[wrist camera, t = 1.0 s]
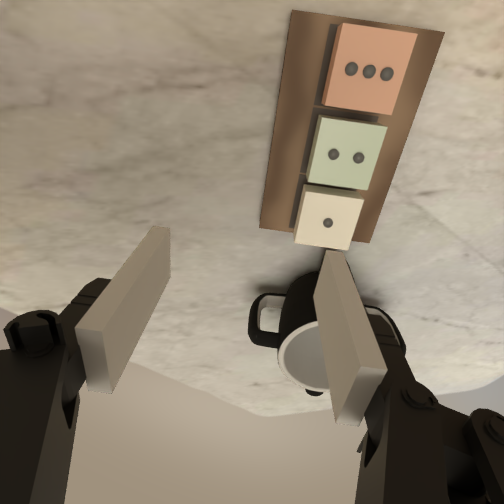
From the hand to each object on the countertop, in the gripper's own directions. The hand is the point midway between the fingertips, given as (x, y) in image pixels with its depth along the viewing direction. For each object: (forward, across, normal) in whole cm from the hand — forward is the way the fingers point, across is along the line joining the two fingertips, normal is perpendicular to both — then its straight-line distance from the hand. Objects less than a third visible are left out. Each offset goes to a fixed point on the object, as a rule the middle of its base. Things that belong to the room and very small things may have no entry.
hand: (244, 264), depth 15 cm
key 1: (+21, +8, -5) cm, 23 cm away
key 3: (+21, +8, +9) cm, 24 cm away
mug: (+25, +11, -20) cm, 34 cm away
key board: (+25, +8, +2) cm, 26 cm away
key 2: (+21, +8, +2) cm, 22 cm away
